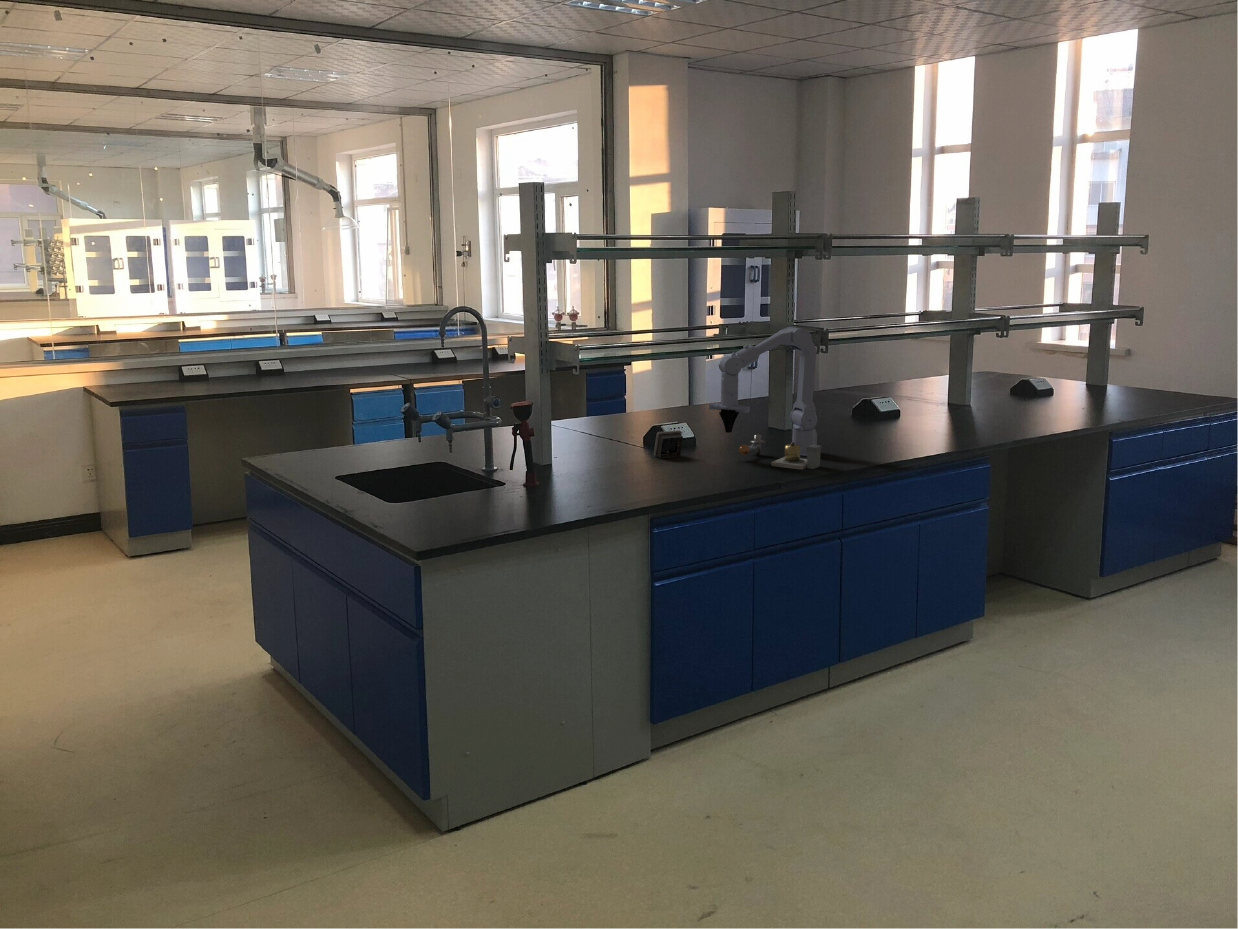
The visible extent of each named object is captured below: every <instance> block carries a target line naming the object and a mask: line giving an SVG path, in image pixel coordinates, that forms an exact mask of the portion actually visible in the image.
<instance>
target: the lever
mask: <svg viewBox="0 0 1238 929" xmlns="http://www.w3.org/2000/svg"><path fill="white" fill-rule="evenodd" d="M756 448H757V445H756V444H752V443H751V444H749V445H747V444H743V445H741V446H740V447H739V448H738V453H739V454H740V455H741V456H748V454H749V453H750V451H754V449H756Z"/></svg>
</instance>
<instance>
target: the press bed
mask: <svg viewBox="0 0 1238 929" xmlns="http://www.w3.org/2000/svg"><path fill="white" fill-rule="evenodd" d="M821 452H822V445H819V444H817V445H810V446H808V447H807V456H806V458H801V457H800V461H798V462H788V461H785V456H783V457H780V458H778V459H776V460H774V461H771V462H770V464H771V467H779V468H787V469H794V470H802V471H803V470H805V469H811V470H815V469H817V468H819V467H820V466H821Z"/></svg>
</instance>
